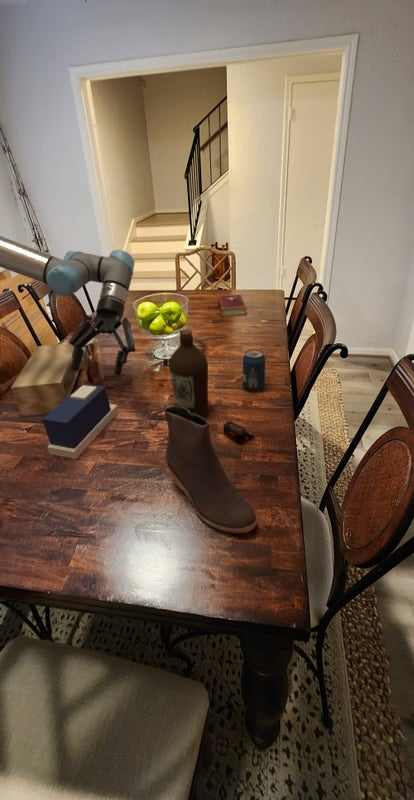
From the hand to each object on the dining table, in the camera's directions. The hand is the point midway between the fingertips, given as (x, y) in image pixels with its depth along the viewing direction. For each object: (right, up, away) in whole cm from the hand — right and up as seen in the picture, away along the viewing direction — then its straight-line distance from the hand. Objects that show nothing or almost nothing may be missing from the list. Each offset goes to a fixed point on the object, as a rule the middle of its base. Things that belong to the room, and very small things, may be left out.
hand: (95, 372), depth 104 cm
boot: (+32, -30, -25) cm, 50 cm away
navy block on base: (-2, -17, 0) cm, 17 cm away
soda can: (+46, -4, +16) cm, 49 cm away
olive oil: (+27, -11, +6) cm, 30 cm away
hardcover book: (+44, +38, +83) cm, 102 cm away
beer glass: (-7, -1, +25) cm, 26 cm away
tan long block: (-20, -4, +21) cm, 29 cm away
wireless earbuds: (+40, -18, -6) cm, 44 cm away
